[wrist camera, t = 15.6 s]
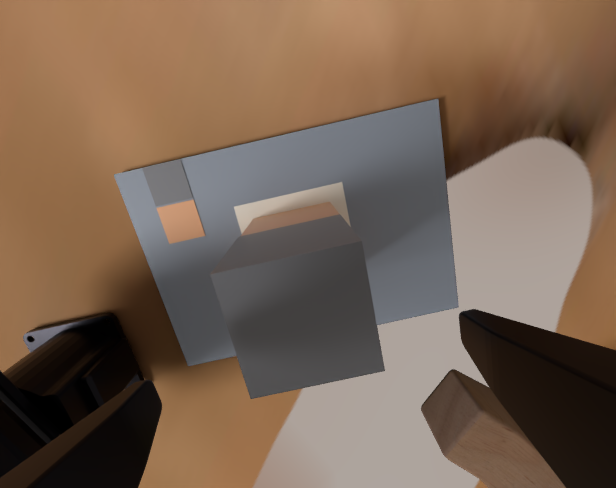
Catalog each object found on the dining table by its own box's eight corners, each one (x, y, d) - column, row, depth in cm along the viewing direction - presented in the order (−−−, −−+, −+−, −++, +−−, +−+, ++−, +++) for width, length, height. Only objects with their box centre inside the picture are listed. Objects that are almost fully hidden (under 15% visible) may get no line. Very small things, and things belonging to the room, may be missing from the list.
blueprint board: (191, 361, 23) (188, 366, 22) (119, 174, 19) (113, 174, 18) (454, 303, 22) (458, 307, 22) (433, 100, 19) (438, 98, 18)
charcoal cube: (264, 327, 16) (250, 398, 11) (238, 236, 15) (210, 274, 10) (357, 306, 16) (384, 370, 11) (340, 214, 15) (361, 240, 10)
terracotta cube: (272, 289, 21) (265, 328, 16) (253, 218, 19) (239, 238, 15) (344, 273, 21) (358, 307, 16) (329, 201, 19) (340, 215, 15)
